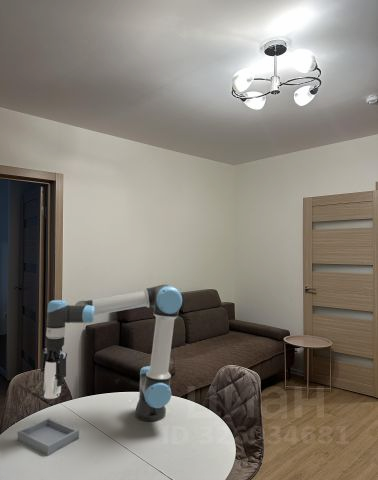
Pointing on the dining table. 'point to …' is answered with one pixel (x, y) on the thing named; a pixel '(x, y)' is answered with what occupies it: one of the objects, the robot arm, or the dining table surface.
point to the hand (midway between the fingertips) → (52, 391)
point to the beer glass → (50, 379)
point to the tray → (48, 436)
